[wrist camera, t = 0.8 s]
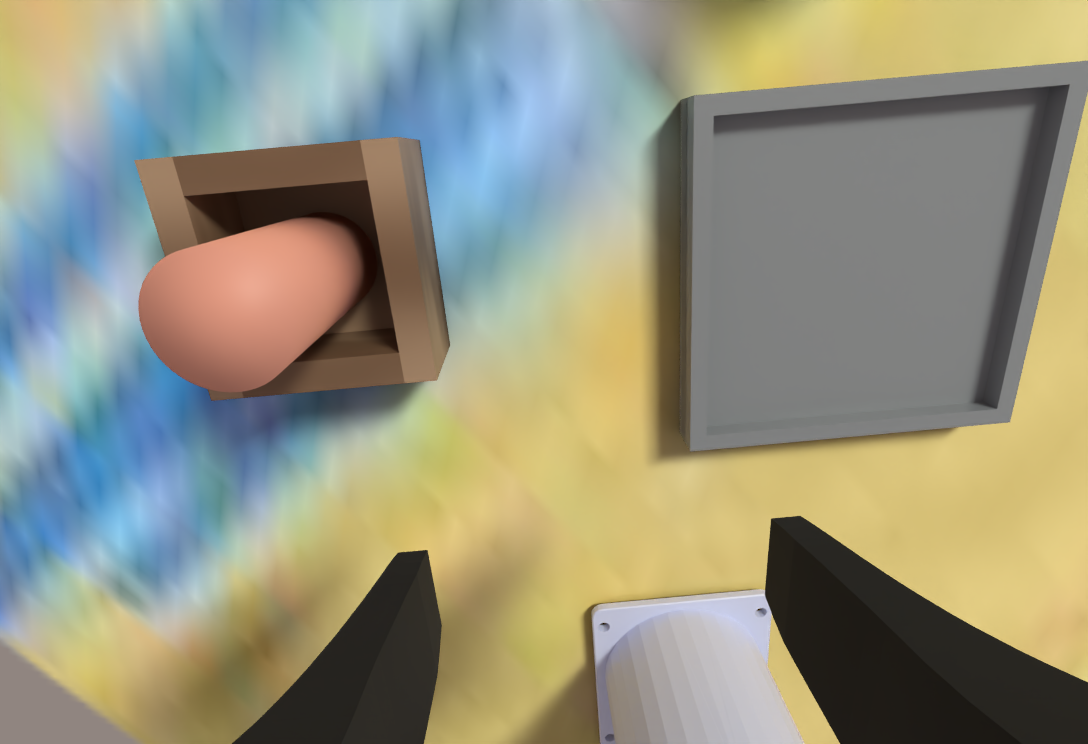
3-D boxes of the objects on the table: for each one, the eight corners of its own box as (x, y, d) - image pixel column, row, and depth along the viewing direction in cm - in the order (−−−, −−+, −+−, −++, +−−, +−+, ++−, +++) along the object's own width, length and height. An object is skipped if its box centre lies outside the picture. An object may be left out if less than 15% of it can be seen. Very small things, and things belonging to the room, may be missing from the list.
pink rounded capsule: (385, 303, 20) (310, 385, 13) (293, 311, 20) (166, 398, 13) (367, 207, 19) (274, 239, 12) (269, 216, 18) (116, 253, 12)
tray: (979, 405, 23) (1009, 422, 21) (679, 432, 23) (690, 451, 21) (1051, 67, 18) (1094, 60, 17) (680, 99, 18) (694, 95, 17)
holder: (450, 345, 21) (436, 380, 18) (259, 362, 21) (211, 401, 18) (419, 140, 18) (397, 137, 15) (203, 159, 18) (134, 160, 15)
